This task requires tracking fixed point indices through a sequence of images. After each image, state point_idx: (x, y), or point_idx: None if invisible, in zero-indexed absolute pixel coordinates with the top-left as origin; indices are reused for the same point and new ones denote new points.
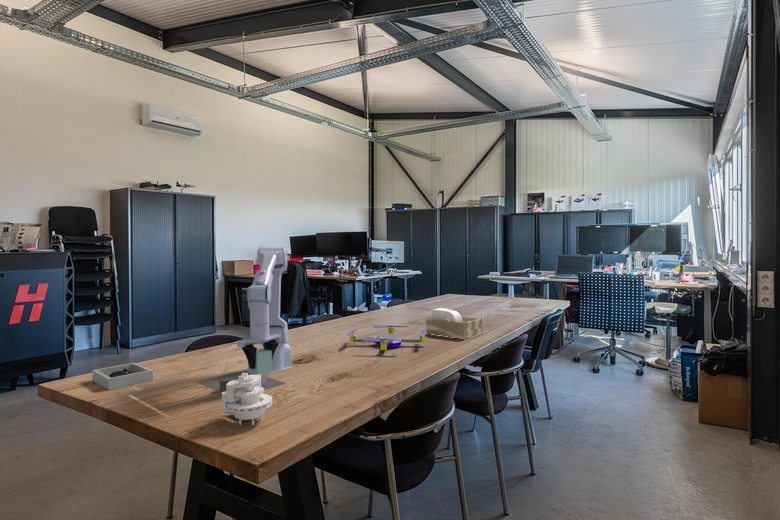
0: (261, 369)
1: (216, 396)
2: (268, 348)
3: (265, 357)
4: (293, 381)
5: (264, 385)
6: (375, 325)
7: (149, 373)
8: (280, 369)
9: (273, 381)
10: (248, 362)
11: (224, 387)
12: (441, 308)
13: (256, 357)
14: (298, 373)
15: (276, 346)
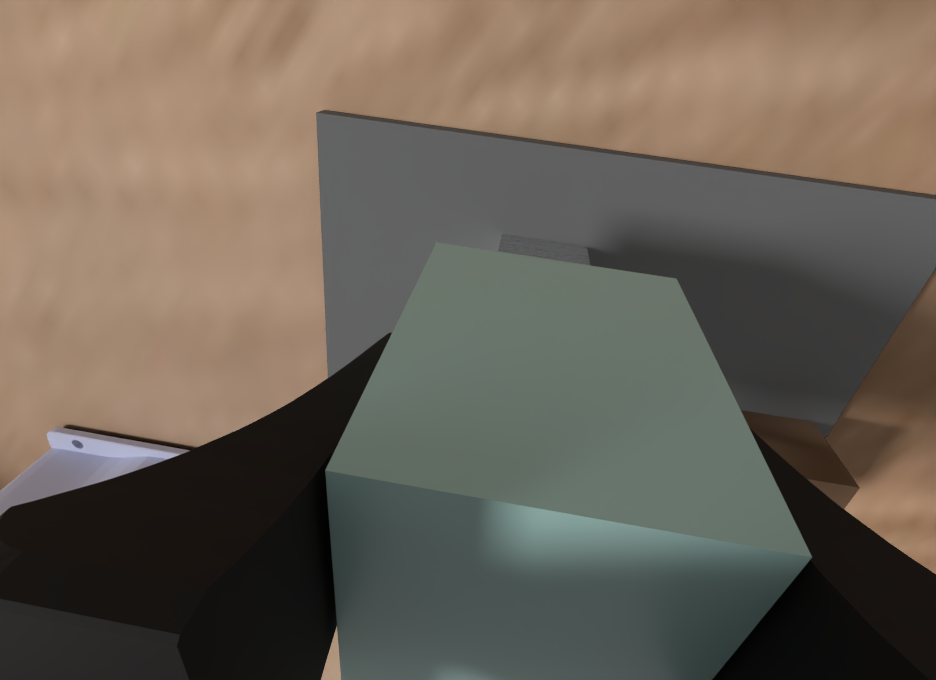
0: (617, 299)
1: (884, 414)
2: (309, 592)
3: (531, 400)
4: (209, 157)
5: (529, 241)
6: None
7: None
8: (153, 457)
9: (370, 284)
10: None
11: (826, 446)
12: None
13: (758, 479)
14: (66, 302)
15: (107, 497)
